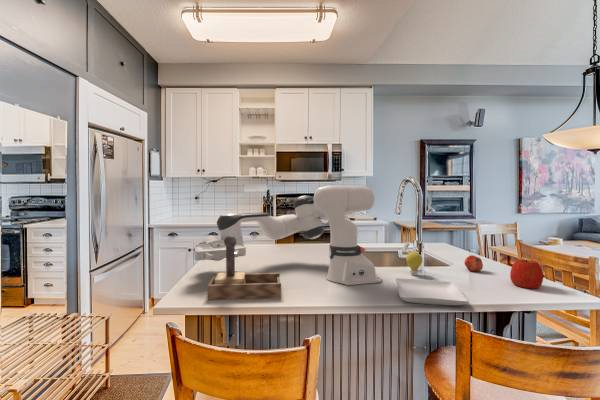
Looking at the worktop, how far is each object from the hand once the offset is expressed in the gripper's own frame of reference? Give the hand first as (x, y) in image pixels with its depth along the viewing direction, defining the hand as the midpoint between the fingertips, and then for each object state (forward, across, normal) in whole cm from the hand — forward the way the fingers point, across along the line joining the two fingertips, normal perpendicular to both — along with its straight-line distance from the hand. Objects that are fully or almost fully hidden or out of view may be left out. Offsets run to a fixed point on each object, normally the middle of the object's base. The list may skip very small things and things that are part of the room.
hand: (224, 256), depth 128 cm
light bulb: (+18, -78, -12) cm, 82 cm away
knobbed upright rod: (+8, 0, -11) cm, 13 cm away
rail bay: (+10, -6, -12) cm, 16 cm away
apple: (+49, -107, -12) cm, 118 cm away
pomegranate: (+25, -108, -12) cm, 112 cm away
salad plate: (+41, -63, -12) cm, 76 cm away
